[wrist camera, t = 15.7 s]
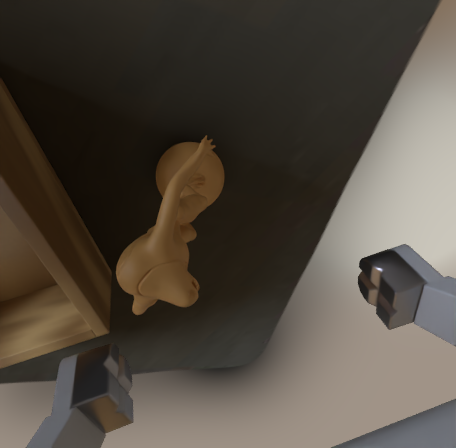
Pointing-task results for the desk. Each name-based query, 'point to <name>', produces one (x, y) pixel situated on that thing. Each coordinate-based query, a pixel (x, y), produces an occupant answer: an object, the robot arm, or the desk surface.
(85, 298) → the wooden tray
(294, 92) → the desk surface
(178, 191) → the figurine
